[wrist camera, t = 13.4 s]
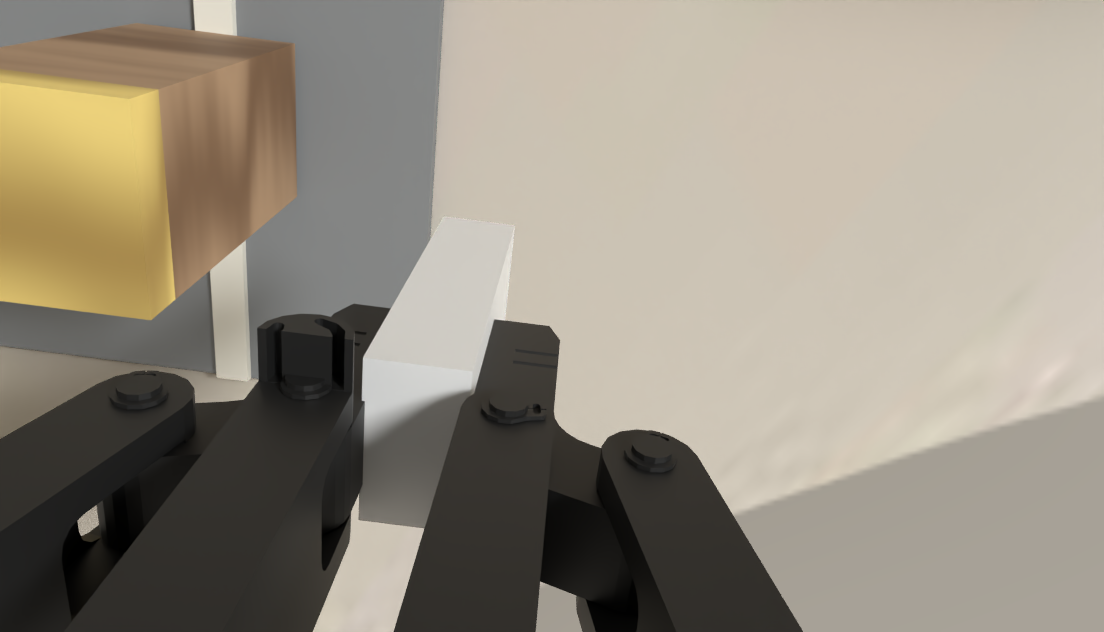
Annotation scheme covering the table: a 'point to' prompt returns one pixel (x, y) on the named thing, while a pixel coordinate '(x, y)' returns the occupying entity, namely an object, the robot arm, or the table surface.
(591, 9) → the table surface
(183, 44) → the block
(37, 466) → the robot arm
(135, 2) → the mat
